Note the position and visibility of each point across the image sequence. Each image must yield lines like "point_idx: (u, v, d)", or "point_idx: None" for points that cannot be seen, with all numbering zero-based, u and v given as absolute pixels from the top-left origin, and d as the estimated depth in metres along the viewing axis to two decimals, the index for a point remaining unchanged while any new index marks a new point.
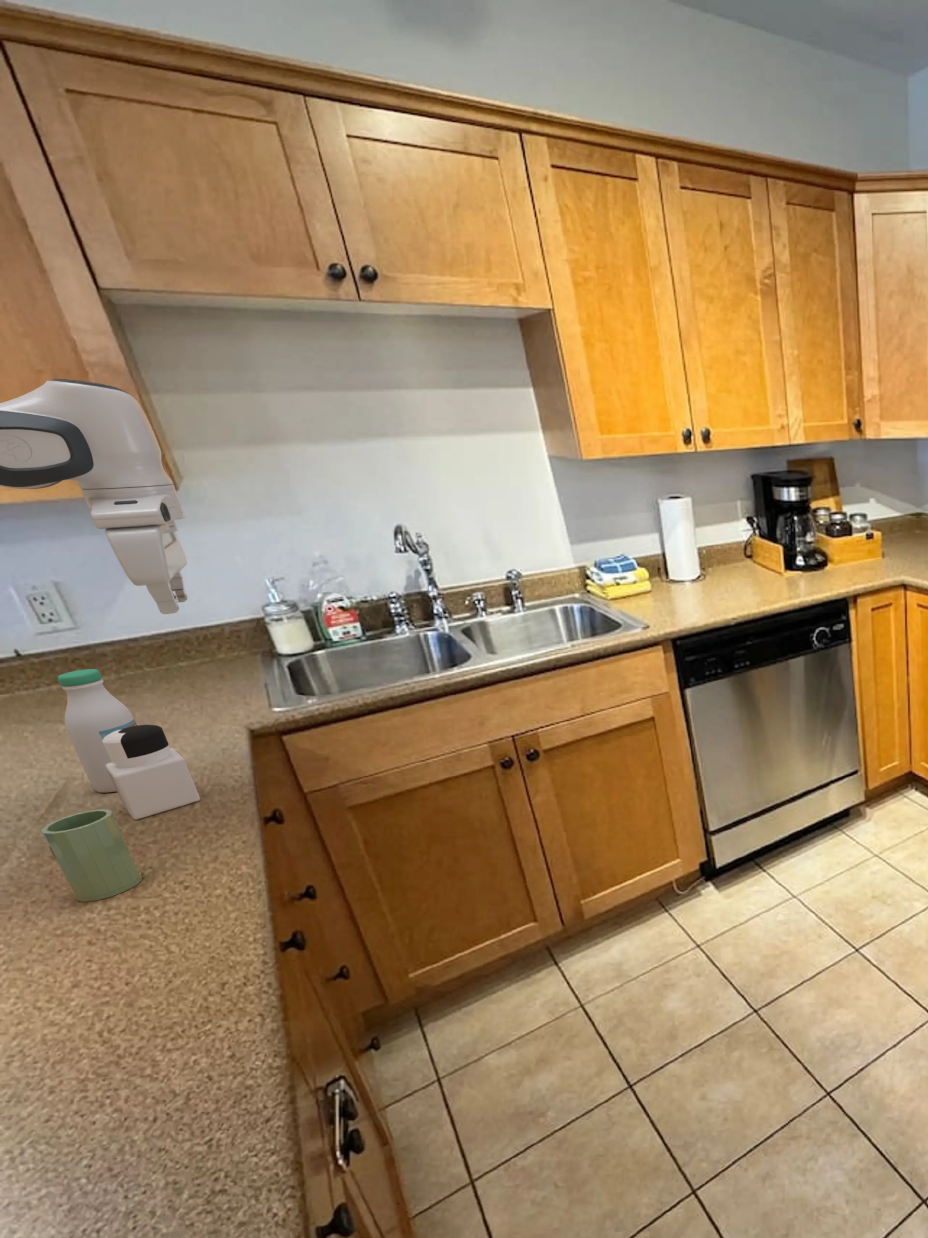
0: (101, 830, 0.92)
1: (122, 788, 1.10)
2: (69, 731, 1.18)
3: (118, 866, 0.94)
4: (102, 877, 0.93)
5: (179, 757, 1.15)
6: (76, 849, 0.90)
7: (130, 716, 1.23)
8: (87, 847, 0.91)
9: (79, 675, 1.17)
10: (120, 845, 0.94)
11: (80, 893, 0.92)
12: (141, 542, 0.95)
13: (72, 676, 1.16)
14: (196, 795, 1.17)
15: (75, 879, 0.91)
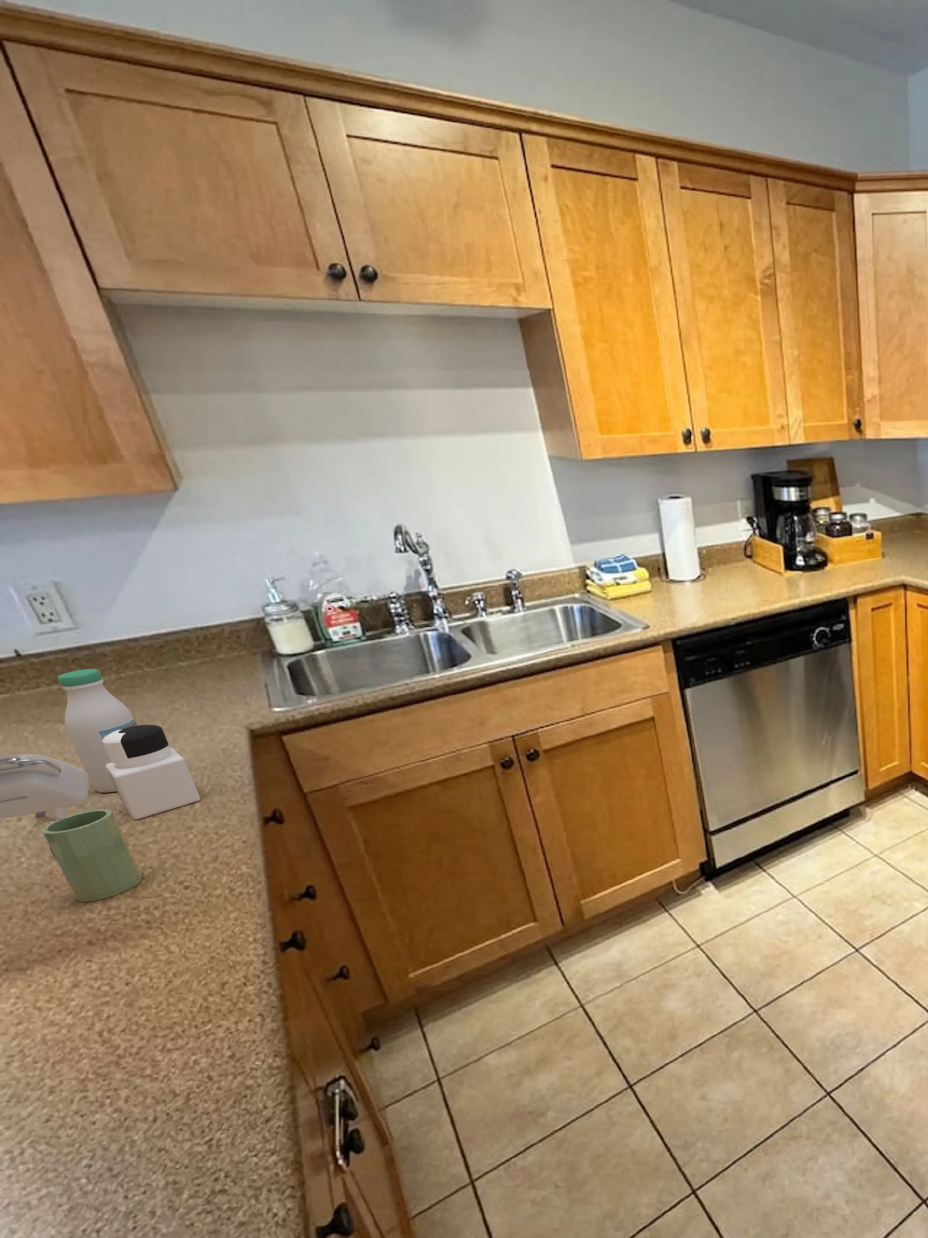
0: (101, 830, 0.92)
1: (122, 788, 1.10)
2: (69, 731, 1.18)
3: (118, 866, 0.94)
4: (102, 877, 0.93)
5: (179, 757, 1.15)
6: (76, 849, 0.90)
7: (130, 716, 1.23)
8: (87, 847, 0.91)
9: (79, 675, 1.17)
10: (120, 845, 0.94)
11: (80, 893, 0.92)
12: None
13: (72, 676, 1.16)
14: (196, 795, 1.17)
15: (75, 879, 0.91)
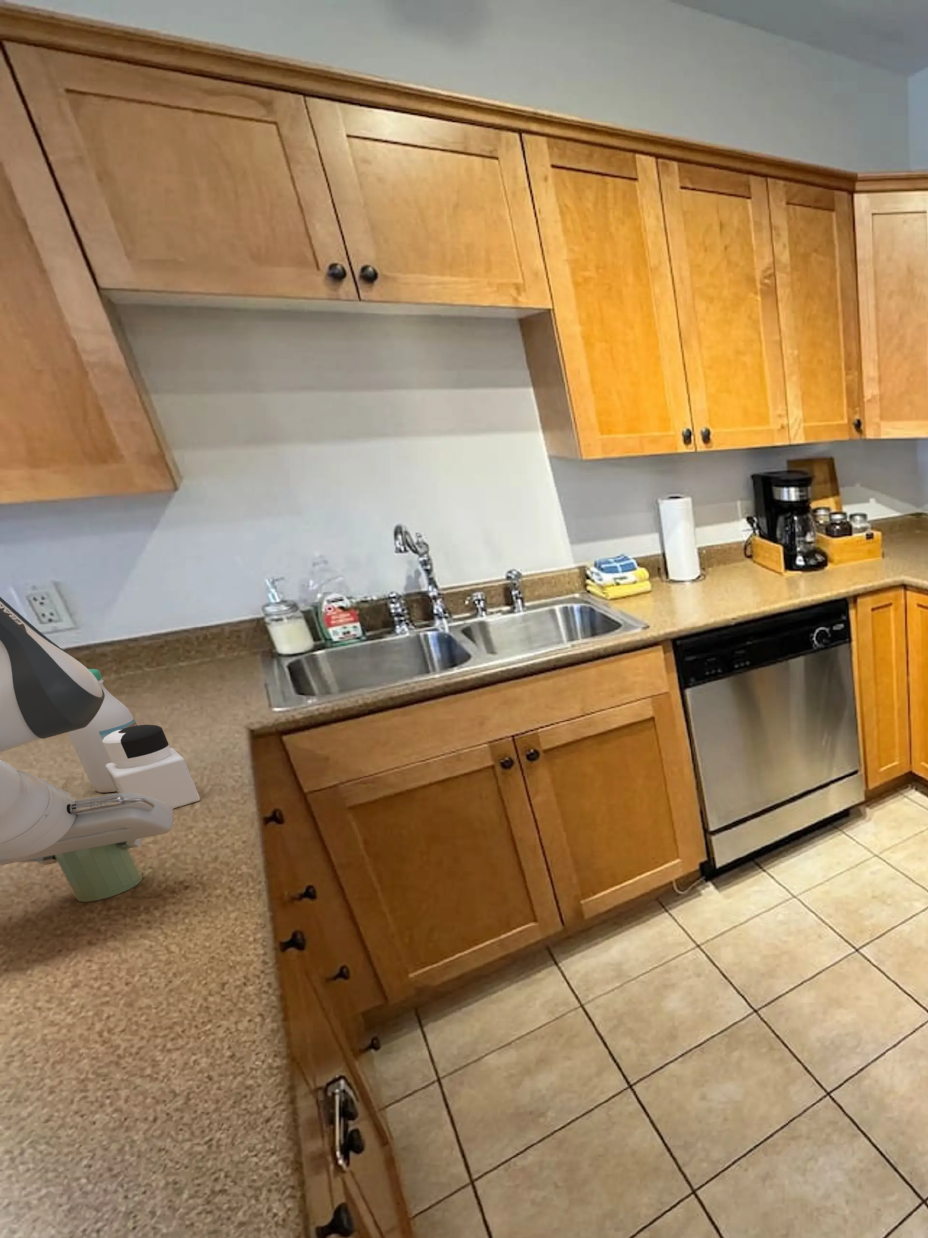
0: None
1: (122, 788, 1.10)
2: None
3: (118, 866, 0.94)
4: (102, 877, 0.93)
5: (179, 757, 1.15)
6: None
7: (130, 716, 1.23)
8: None
9: None
10: None
11: (80, 893, 0.92)
12: None
13: None
14: (196, 795, 1.17)
15: (75, 879, 0.91)
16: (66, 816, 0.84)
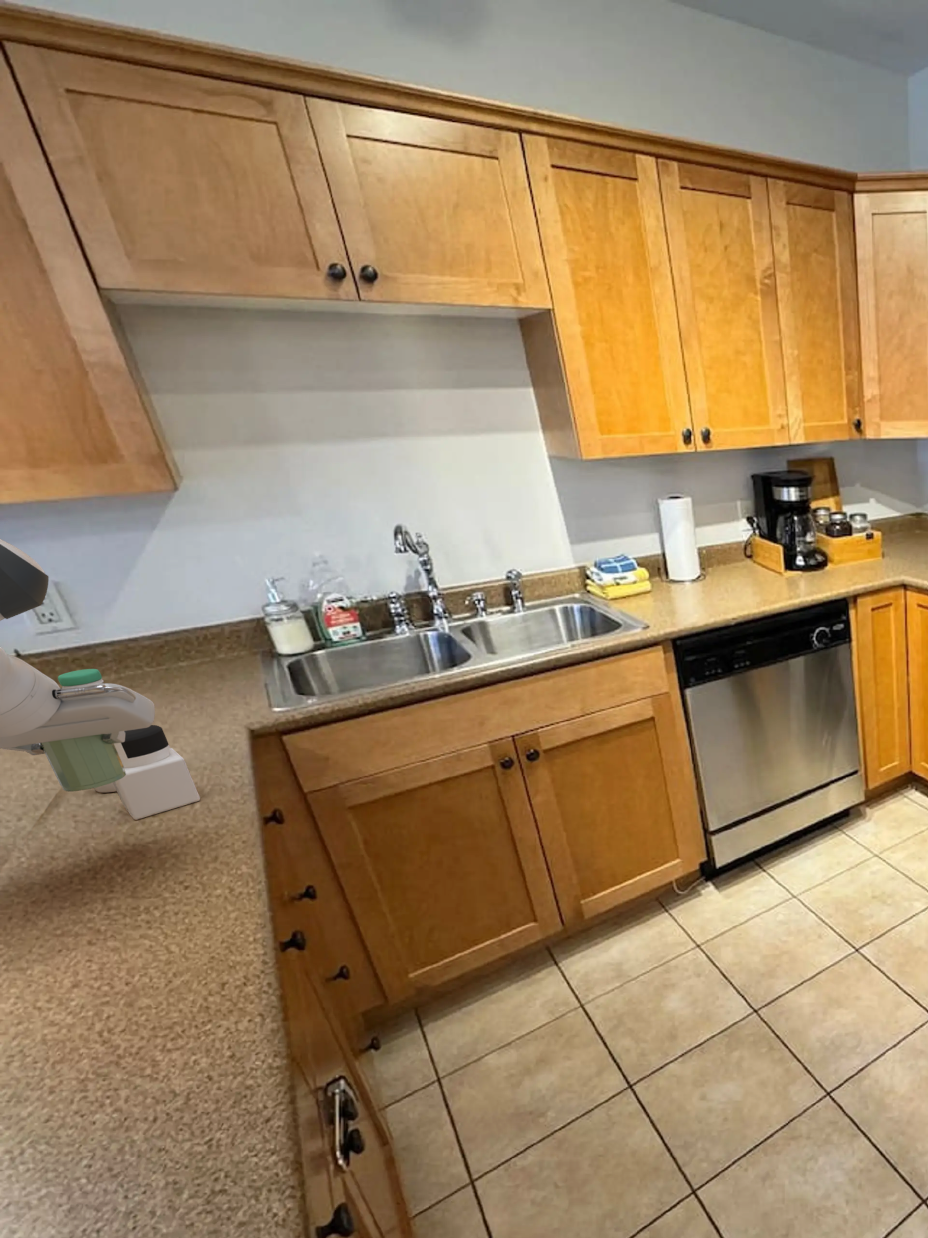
0: None
1: (122, 788, 1.10)
2: None
3: (103, 759, 0.99)
4: (87, 768, 0.98)
5: (179, 757, 1.15)
6: None
7: None
8: (73, 738, 0.96)
9: (79, 675, 1.17)
10: None
11: (66, 783, 0.97)
12: None
13: (72, 676, 1.16)
14: (196, 795, 1.17)
15: (61, 768, 0.97)
16: (51, 700, 0.89)
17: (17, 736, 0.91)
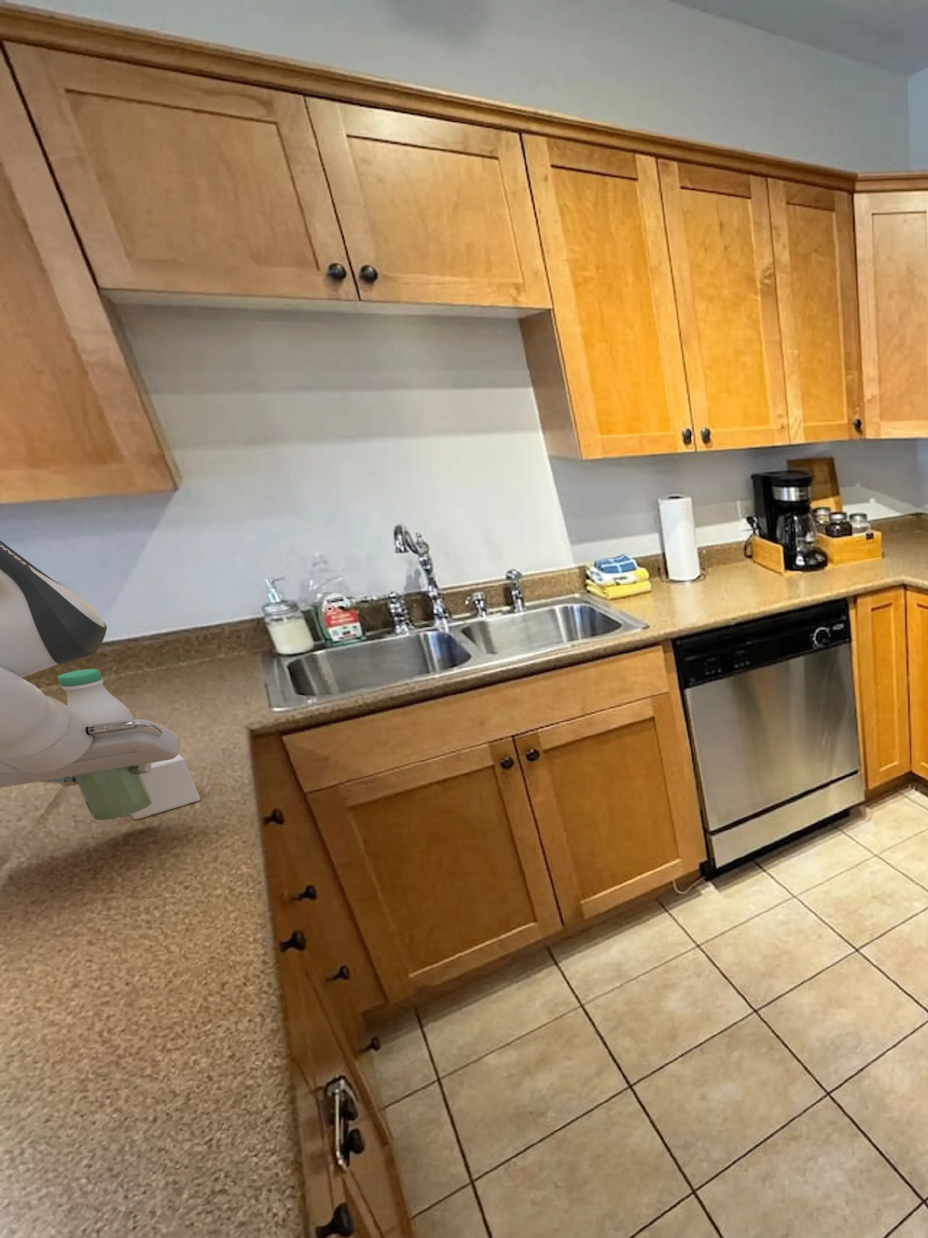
0: None
1: None
2: None
3: (131, 789, 1.05)
4: (117, 798, 1.04)
5: (179, 757, 1.15)
6: None
7: (130, 716, 1.23)
8: None
9: (79, 675, 1.17)
10: None
11: (97, 812, 1.03)
12: None
13: (72, 676, 1.16)
14: (196, 795, 1.17)
15: (92, 798, 1.02)
16: (85, 737, 0.95)
17: (52, 770, 0.97)
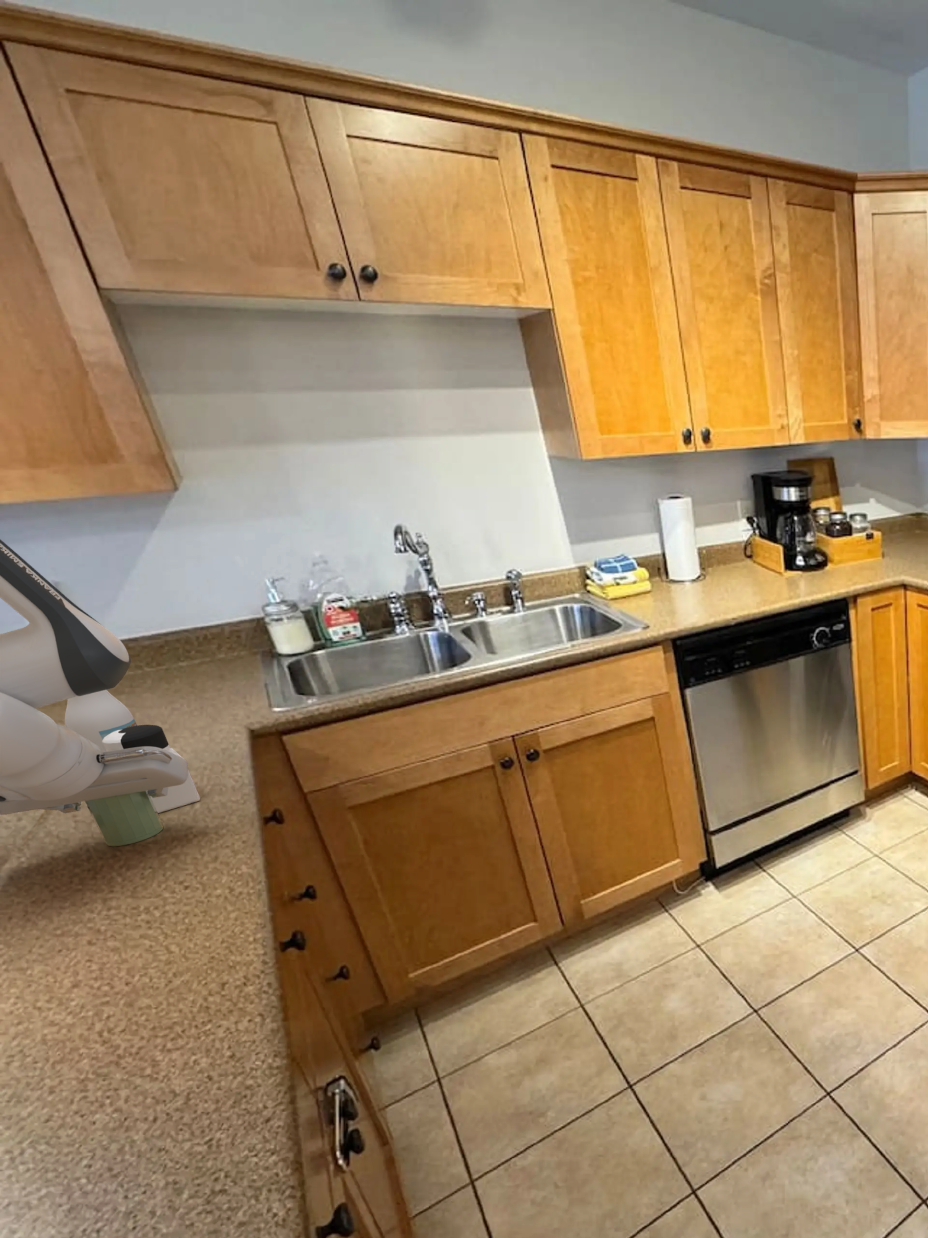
0: None
1: None
2: None
3: (143, 815, 1.06)
4: (129, 824, 1.05)
5: None
6: (107, 799, 1.03)
7: (130, 716, 1.23)
8: (116, 797, 1.04)
9: None
10: (144, 797, 1.07)
11: (109, 838, 1.05)
12: None
13: None
14: (196, 795, 1.17)
15: (105, 825, 1.04)
16: (96, 764, 0.96)
17: None
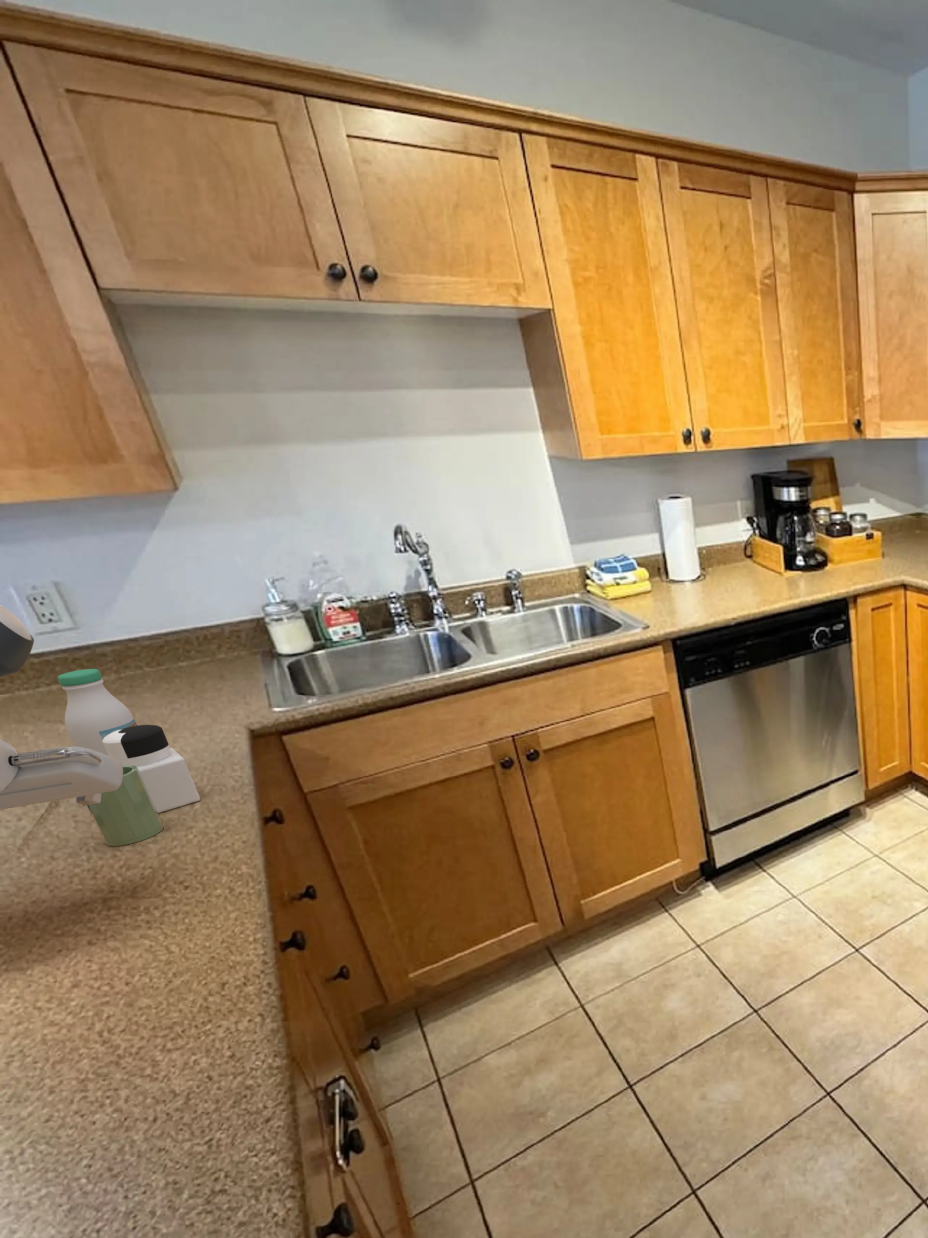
0: (128, 783, 1.05)
1: None
2: (69, 731, 1.18)
3: (143, 815, 1.06)
4: (129, 824, 1.05)
5: (179, 757, 1.15)
6: (107, 799, 1.03)
7: (130, 716, 1.23)
8: (116, 797, 1.04)
9: (79, 675, 1.17)
10: (144, 797, 1.07)
11: (109, 838, 1.05)
12: None
13: (72, 676, 1.16)
14: (196, 795, 1.17)
15: (105, 825, 1.04)
16: (7, 768, 0.82)
17: None
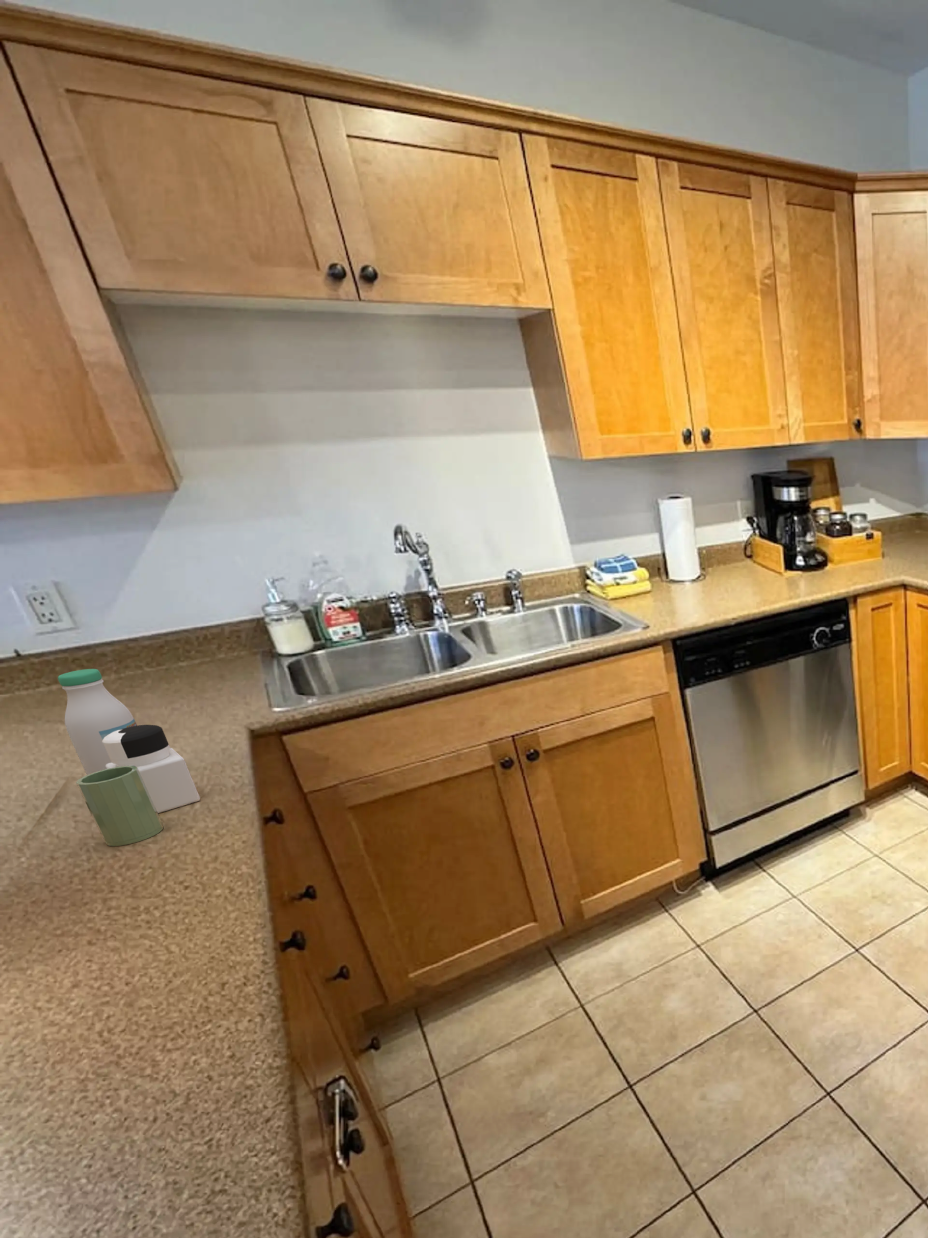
0: (128, 783, 1.05)
1: None
2: (69, 731, 1.18)
3: (143, 815, 1.06)
4: (129, 824, 1.05)
5: (179, 757, 1.15)
6: (107, 799, 1.03)
7: (130, 716, 1.23)
8: (116, 797, 1.04)
9: (79, 675, 1.17)
10: (144, 797, 1.07)
11: (109, 838, 1.05)
12: None
13: (72, 676, 1.16)
14: (196, 795, 1.17)
15: (105, 825, 1.04)
16: None
17: None
